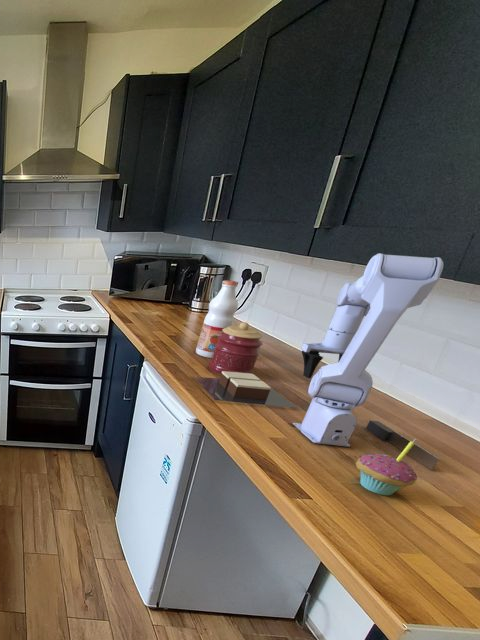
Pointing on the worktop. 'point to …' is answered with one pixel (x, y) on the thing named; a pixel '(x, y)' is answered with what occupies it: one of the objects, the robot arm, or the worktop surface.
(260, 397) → the cake front half
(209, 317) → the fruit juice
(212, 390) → the cake board
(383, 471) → the cupcake
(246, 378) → the cake back half
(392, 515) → the worktop surface
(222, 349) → the kitchen canister
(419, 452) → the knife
